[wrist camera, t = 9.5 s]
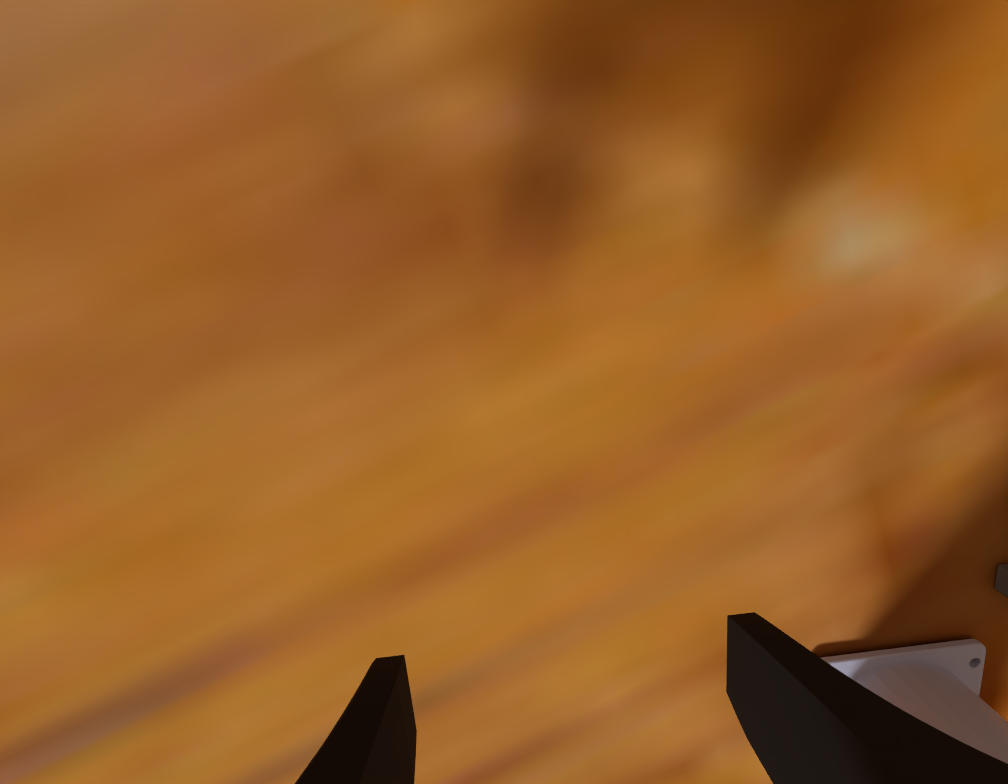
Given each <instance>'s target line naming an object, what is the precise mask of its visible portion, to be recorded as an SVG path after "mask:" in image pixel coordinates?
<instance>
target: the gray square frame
mask: <svg viewBox="0 0 1008 784" xmlns="http://www.w3.org/2000/svg"><path fill="white" fill-rule="evenodd" d="M994 589H996V590H997V591H999V592H1000V593H1002V594H1003V595H1005V596H1006V597H1008V564H1001V565H998V568H997V574H996V581H995V587H994Z"/></svg>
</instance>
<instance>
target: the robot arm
mask: <svg viewBox="0 0 1008 784" xmlns="http://www.w3.org/2000/svg"><path fill="white" fill-rule="evenodd" d="M985 656H986V647H985V646H984V645H983V644H982V643H981V642H979V641H978V640H976V639H965V640H957V641H949V642H941V643H933V644H925V645H917V646H909V647H901V648H893V649H885V650H877V651H869V652H861V653H853V654H845V655H837V656H829V657H821V658H820V657H818V656H817V655H815V654H814V653H812V652H811V651H809V650H808V649H807V648H805V647H804V646H802V645H801V644H799V643H798V642H797V641H795V640H794V639H792V638H791V637H789V636H788V635H787V634H785V633H784V632H782V631H781V630H780V629H778V628H777V627H775V626H774V625H772V624H771V623H770V622H768V621H767V620H765V619H764V618H762V617H761V616H759V615H758V614H756V613H755V612H753V613H745V614H737V615H728V619H727V687H726V692H727V694H728V696H729V699H730V701H731V703H732V706H733V708H734V710H735V713H736V715H737V717H738V719H739V722H740V724H741V726H742V728H743V730H744V732H745V735H746V737H747V739H748V741H749V742H750V744H751V746H752V748H753V750H754V751H755V753H756V755H757V756H758V758H759V760H760V762H761V763H762V765H763V767H764V768H765V770H766V772H767V774H768V775H769V777H770V779H771V780H772V782H773V784H1008V722H1007V721H1006V720H1005V719H1004V718H1003V717H1001V716H1000V715H999V714H998V713H997V712H996V711H995V710H994V709H992V708H991V707H990V706H989V705H988V704H987V703H986V702H984V701H983V700H982V699H981V698H980V697H979V694H980V688H981V681H982V675H983V668H984V662H985ZM416 733H417V730H416V724H415V718H414V712H413V706H412V699H411V693H410V687H409V681H408V675H407V669H406V663H405V657H404V655H399V656H391V657H383V658H376V659H375V660H374V662H373V663H372V664H371V666H370V668H369V670H368V671H367V673H366V675H365V677H364V679H363V680H362V682H361V684H360V686H359V687H358V689H357V691H356V692H355V694H354V696H353V698H352V699H351V701H350V702H349V704H348V706H347V707H346V709H345V711H344V712H343V714H342V715H341V717H340V719H339V720H338V722H337V723H336V725H335V726H334V728H333V729H332V731H331V733H330V734H329V736H328V737H327V739H326V740H325V742H324V743H323V745H322V746H321V748H320V749H319V751H318V752H317V753H316V755H315V756H314V758H313V759H312V760H311V762H310V763H309V765H308V766H307V767H306V769H305V770H304V772H303V773H302V774H301V776H300V777H299V779H298V780H297V781H296V783H295V784H414V776H415V757H416Z"/></svg>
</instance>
